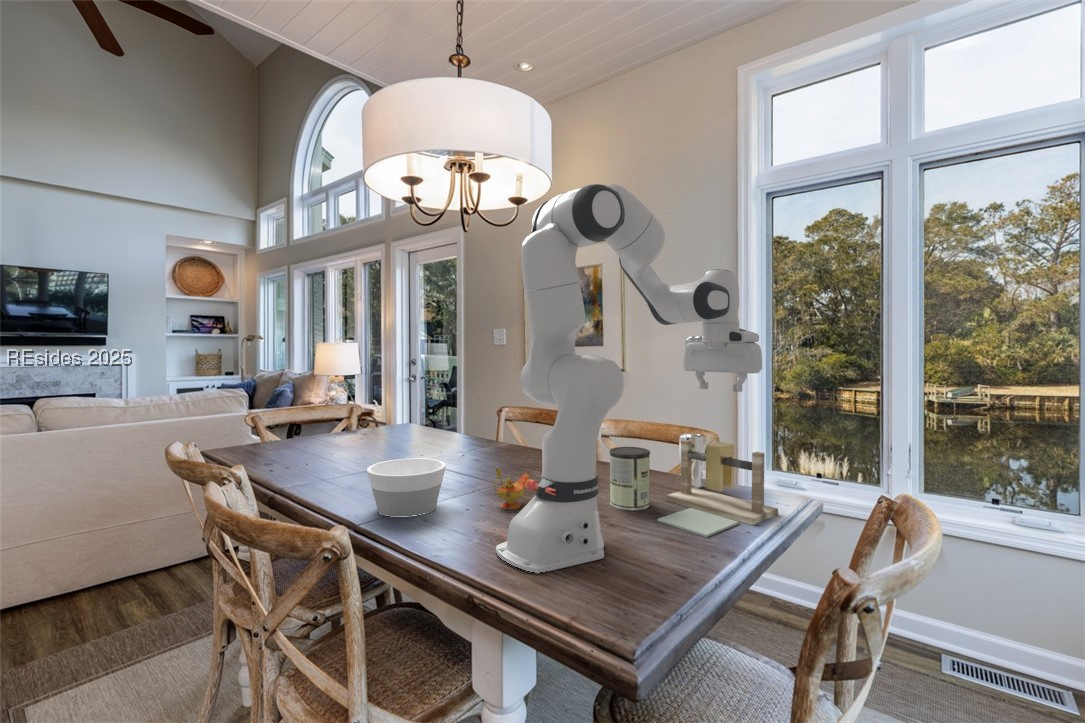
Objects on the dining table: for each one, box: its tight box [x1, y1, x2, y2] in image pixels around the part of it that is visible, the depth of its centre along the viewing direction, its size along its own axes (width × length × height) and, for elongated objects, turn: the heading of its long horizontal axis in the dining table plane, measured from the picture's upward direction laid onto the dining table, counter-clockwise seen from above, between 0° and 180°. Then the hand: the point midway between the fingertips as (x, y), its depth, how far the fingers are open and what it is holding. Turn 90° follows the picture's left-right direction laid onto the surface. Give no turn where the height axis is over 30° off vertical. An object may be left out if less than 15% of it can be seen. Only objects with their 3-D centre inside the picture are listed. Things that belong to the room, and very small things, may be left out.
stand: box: [665, 440, 779, 526], centre depth 127 cm, size 12×24×16 cm, turn 39°
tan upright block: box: [705, 441, 735, 493], centre depth 127 cm, size 6×4×11 cm, turn 129°
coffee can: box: [609, 446, 651, 511], centre depth 129 cm, size 10×10×14 cm
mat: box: [656, 507, 740, 538], centre depth 116 cm, size 13×13×1 cm
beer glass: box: [678, 433, 705, 489], centre depth 146 cm, size 7×7×15 cm
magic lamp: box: [494, 468, 533, 510], centre depth 130 cm, size 7×18×11 cm, turn 152°
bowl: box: [366, 457, 447, 516], centre depth 126 cm, size 19×19×11 cm
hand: (720, 390), depth 126 cm, fingers open, 8 cm apart
